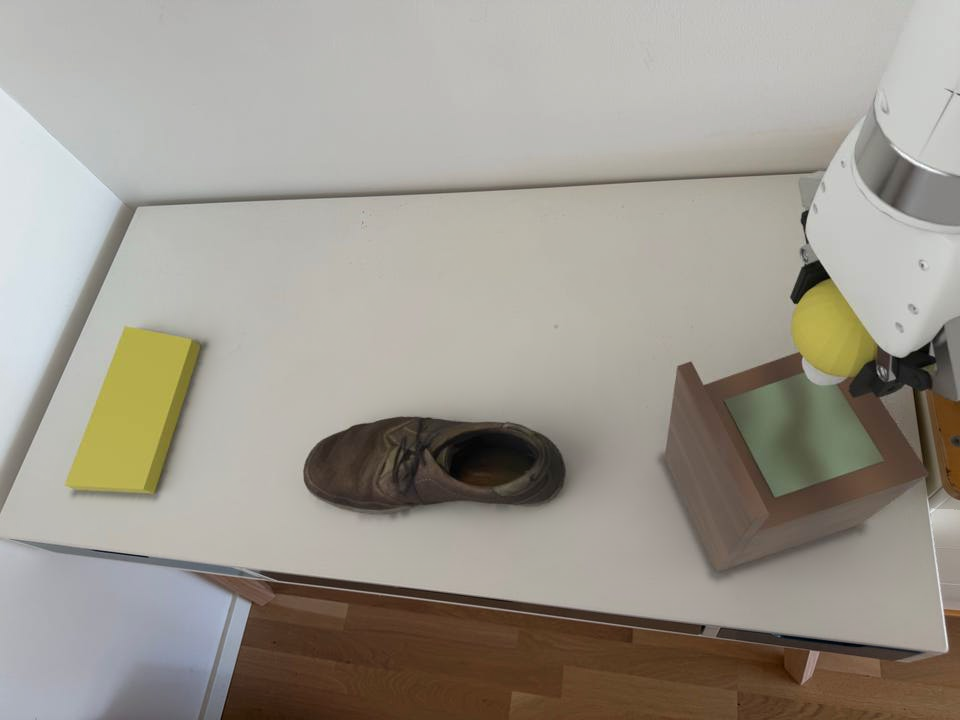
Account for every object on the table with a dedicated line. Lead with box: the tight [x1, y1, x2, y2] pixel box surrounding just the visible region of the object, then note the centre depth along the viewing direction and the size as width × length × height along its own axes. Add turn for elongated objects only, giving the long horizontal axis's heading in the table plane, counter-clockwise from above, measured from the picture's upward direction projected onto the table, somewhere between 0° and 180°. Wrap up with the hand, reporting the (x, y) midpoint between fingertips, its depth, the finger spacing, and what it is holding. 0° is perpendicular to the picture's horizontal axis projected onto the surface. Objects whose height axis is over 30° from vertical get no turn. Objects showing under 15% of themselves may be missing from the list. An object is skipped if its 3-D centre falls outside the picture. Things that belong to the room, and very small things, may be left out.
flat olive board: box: [64, 325, 202, 495], centre depth 90 cm, size 12×2×24 cm
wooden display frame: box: [664, 351, 930, 573], centre depth 59 cm, size 15×13×24 cm
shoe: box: [302, 416, 566, 515], centre depth 74 cm, size 12×31×10 cm, turn 80°
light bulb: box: [790, 278, 877, 386], centre depth 43 cm, size 7×7×10 cm
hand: (842, 338), depth 43 cm, fingers closed on light bulb, 6 cm apart
